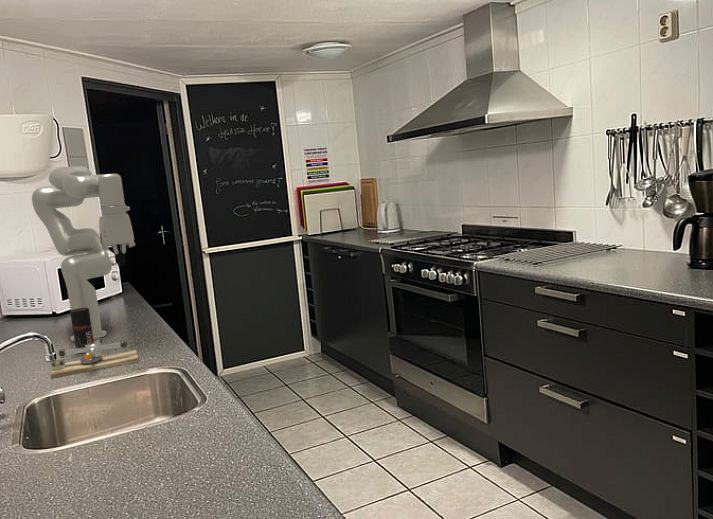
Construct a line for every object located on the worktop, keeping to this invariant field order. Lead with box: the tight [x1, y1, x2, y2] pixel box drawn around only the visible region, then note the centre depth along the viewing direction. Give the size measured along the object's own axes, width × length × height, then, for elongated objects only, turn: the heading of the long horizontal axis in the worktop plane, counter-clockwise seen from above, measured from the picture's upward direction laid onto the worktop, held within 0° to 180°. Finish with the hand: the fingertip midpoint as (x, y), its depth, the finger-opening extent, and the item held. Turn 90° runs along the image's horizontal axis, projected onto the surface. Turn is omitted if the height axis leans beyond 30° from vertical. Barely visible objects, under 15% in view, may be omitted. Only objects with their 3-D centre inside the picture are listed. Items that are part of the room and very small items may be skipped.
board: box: [50, 349, 140, 379], centre depth 189 cm, size 11×25×4 cm, turn 114°
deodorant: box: [69, 308, 95, 355], centre depth 206 cm, size 6×6×15 cm
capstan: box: [58, 337, 128, 364], centre depth 189 cm, size 20×20×5 cm
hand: (121, 265), depth 203 cm, fingers closed
